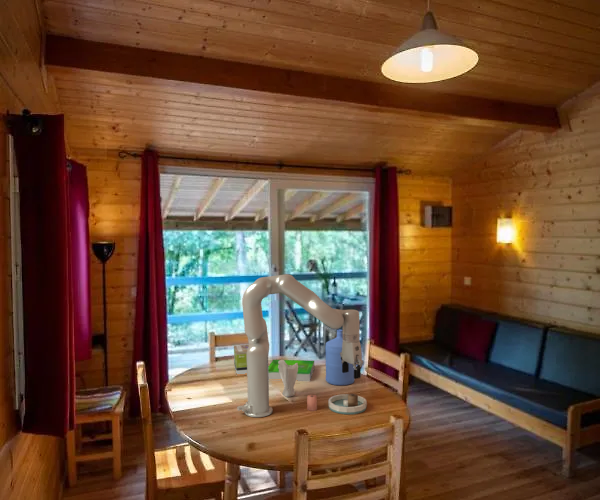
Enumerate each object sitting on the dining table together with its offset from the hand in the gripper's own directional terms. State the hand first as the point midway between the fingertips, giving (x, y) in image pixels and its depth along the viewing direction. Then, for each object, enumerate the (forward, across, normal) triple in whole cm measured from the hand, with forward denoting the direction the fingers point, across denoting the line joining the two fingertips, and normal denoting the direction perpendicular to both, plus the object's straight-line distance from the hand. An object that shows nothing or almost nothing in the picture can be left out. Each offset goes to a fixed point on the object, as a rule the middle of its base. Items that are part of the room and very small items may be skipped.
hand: (351, 375), depth 204 cm
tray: (+17, +63, +1) cm, 65 cm away
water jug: (+16, +38, -17) cm, 45 cm away
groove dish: (+16, +4, -1) cm, 17 cm away
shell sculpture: (+16, +31, +17) cm, 39 cm away
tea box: (+17, +78, +24) cm, 83 cm away
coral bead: (+16, +10, +15) cm, 24 cm away
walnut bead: (+15, 0, -1) cm, 15 cm away
